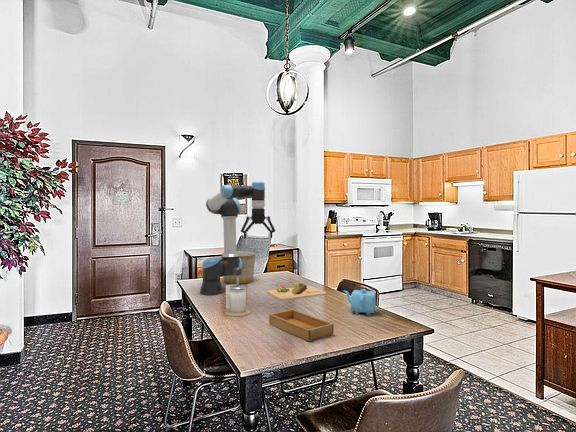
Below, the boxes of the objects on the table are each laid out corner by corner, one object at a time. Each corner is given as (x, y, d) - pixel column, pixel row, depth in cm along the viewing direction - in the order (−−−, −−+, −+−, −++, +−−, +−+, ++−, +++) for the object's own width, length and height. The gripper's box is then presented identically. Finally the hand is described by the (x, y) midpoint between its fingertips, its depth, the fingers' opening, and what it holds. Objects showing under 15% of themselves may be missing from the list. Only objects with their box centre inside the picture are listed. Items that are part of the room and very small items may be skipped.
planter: (222, 278, 296) (222, 251, 296) (254, 277, 299) (254, 251, 299) (220, 285, 271) (220, 256, 270) (255, 284, 273) (255, 255, 273)
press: (224, 309, 208) (224, 286, 208) (248, 308, 212) (248, 285, 211) (226, 317, 195) (226, 292, 194) (252, 315, 198) (252, 290, 198)
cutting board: (281, 301, 229) (281, 289, 229) (266, 293, 250) (266, 282, 250) (327, 295, 246) (328, 284, 245) (309, 288, 266) (309, 278, 266)
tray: (269, 324, 185) (269, 313, 184) (292, 319, 194) (292, 308, 194) (308, 343, 160) (308, 330, 160) (333, 336, 169) (333, 323, 169)
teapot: (375, 309, 210) (376, 287, 210) (372, 317, 196) (373, 293, 195) (344, 306, 216) (344, 285, 216) (339, 314, 202) (339, 290, 201)
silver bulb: (229, 286, 206) (229, 267, 205) (244, 286, 208) (244, 266, 207) (230, 290, 198) (230, 270, 197) (246, 289, 200) (246, 269, 199)
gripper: (237, 208, 207) (237, 245, 208) (280, 208, 214) (280, 244, 214) (236, 207, 215) (236, 243, 215) (277, 208, 221) (277, 243, 222)
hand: (258, 244), depth 215 cm, fingers open, 13 cm apart
